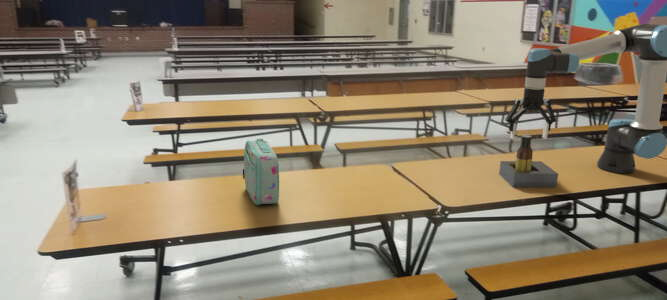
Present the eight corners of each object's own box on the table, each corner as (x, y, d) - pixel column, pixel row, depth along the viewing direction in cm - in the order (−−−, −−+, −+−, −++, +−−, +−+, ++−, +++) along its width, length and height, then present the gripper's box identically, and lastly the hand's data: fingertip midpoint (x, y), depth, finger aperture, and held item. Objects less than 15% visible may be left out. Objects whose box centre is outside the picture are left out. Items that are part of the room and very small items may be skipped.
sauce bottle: (527, 178, 203) (533, 134, 197) (531, 183, 197) (538, 138, 191) (511, 177, 203) (517, 133, 197) (515, 182, 197) (521, 137, 191)
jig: (539, 174, 208) (541, 161, 206) (556, 187, 193) (558, 173, 191) (499, 173, 208) (500, 161, 206) (512, 187, 192) (514, 173, 191)
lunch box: (241, 185, 192) (239, 135, 186) (266, 182, 196) (264, 132, 189) (254, 211, 168) (252, 154, 162) (282, 207, 172) (281, 151, 165)
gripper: (560, 86, 192) (553, 135, 198) (500, 86, 192) (495, 136, 198) (570, 89, 185) (562, 140, 191) (507, 89, 185) (501, 141, 191)
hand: (528, 138), depth 195 cm, fingers open, 13 cm apart
